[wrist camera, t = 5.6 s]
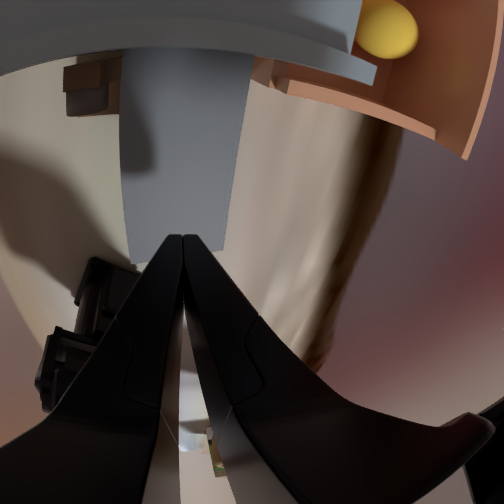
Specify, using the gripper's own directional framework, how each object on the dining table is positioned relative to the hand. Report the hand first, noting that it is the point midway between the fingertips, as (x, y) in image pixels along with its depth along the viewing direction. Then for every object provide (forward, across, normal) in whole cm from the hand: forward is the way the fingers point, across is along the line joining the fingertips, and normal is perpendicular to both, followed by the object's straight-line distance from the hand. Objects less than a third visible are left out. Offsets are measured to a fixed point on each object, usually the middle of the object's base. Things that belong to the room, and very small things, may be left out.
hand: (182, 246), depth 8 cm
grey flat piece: (+2, +5, -5) cm, 8 cm away
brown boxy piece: (+10, -8, -9) cm, 16 cm away
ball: (+7, -9, -9) cm, 15 cm away
